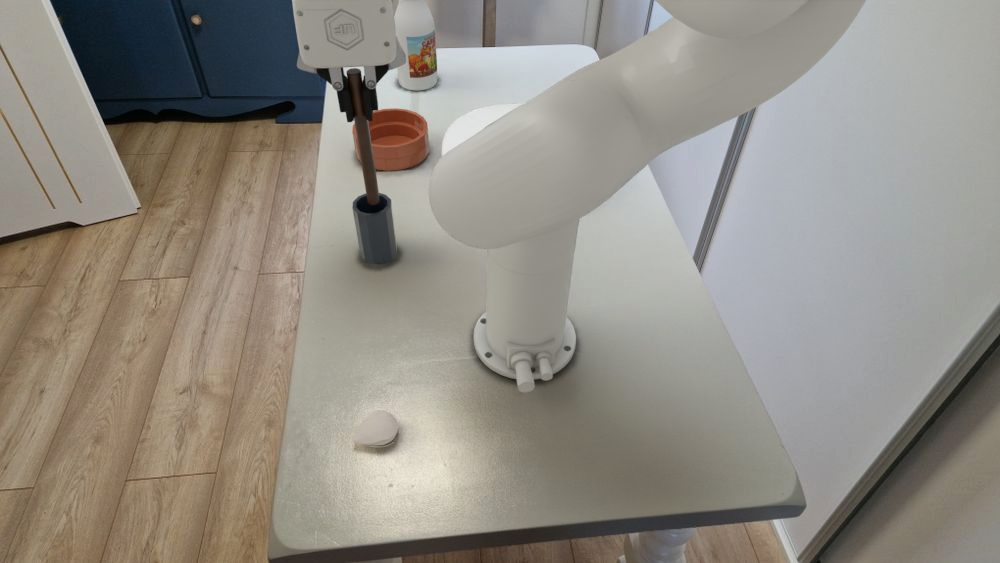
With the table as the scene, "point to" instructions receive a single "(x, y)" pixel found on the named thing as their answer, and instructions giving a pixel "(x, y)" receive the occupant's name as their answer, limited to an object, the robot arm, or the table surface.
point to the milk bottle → (416, 45)
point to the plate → (473, 124)
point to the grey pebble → (377, 430)
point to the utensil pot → (375, 229)
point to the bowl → (396, 139)
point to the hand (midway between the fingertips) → (360, 115)
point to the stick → (363, 136)
